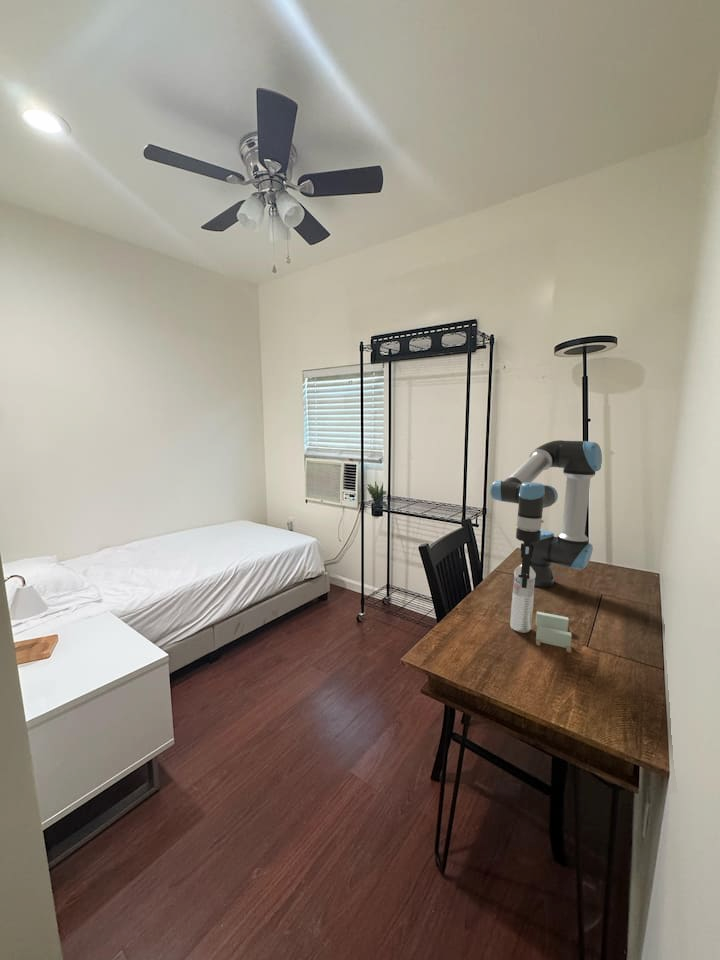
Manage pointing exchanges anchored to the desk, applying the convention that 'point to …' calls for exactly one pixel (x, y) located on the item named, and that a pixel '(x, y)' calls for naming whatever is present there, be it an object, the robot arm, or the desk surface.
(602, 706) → the desk surface
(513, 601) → the water bottle
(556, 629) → the u rest
